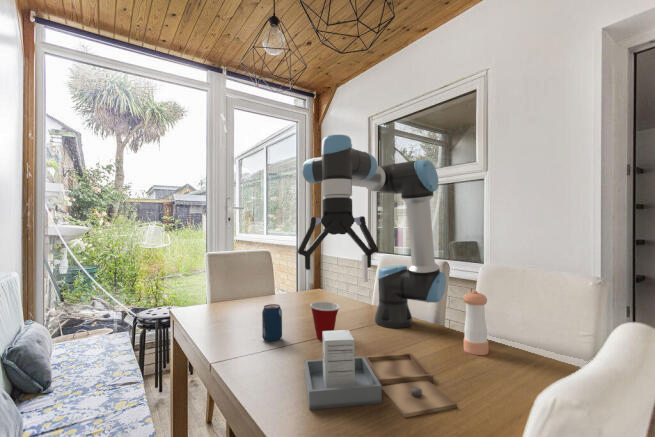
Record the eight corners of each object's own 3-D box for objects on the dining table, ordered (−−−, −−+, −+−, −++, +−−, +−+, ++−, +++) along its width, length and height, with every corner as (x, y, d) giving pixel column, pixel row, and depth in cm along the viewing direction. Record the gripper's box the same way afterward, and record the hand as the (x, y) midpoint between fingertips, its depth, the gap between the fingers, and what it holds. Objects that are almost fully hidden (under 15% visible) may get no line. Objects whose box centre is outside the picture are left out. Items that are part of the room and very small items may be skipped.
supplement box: (322, 379, 85) (321, 330, 85) (350, 377, 86) (349, 329, 86) (324, 393, 78) (324, 340, 78) (355, 391, 79) (354, 339, 79)
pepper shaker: (487, 347, 107) (485, 289, 107) (490, 356, 100) (488, 293, 100) (462, 345, 109) (461, 287, 110) (464, 353, 102) (463, 292, 103)
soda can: (285, 338, 119) (285, 304, 119) (275, 344, 112) (274, 309, 112) (269, 335, 121) (269, 303, 122) (258, 341, 115) (258, 307, 115)
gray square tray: (364, 371, 91) (363, 356, 91) (381, 403, 75) (381, 385, 75) (304, 375, 89) (304, 360, 89) (309, 409, 73) (309, 391, 73)
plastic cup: (337, 344, 112) (337, 308, 112) (307, 342, 114) (306, 307, 114) (342, 333, 123) (342, 301, 123) (314, 331, 125) (314, 300, 125)
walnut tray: (411, 359, 99) (411, 353, 99) (433, 382, 84) (433, 375, 85) (364, 362, 97) (364, 356, 97) (378, 386, 83) (378, 379, 83)
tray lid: (426, 382, 84) (426, 374, 84) (456, 407, 73) (456, 398, 73) (380, 390, 81) (380, 381, 81) (404, 417, 69) (404, 408, 69)
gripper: (380, 198, 88) (382, 277, 88) (287, 198, 85) (288, 281, 85) (389, 196, 81) (391, 282, 80) (287, 196, 77) (288, 286, 77)
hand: (338, 281), depth 82 cm, fingers open, 13 cm apart
